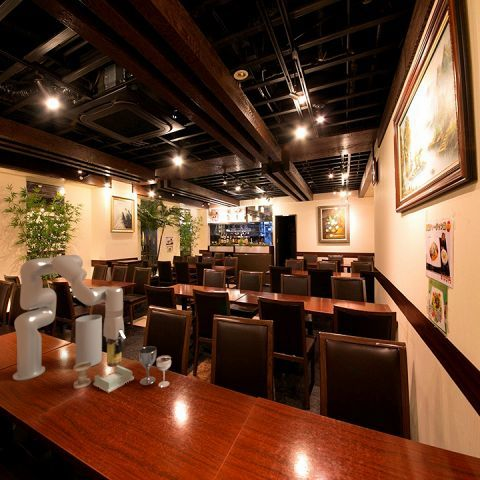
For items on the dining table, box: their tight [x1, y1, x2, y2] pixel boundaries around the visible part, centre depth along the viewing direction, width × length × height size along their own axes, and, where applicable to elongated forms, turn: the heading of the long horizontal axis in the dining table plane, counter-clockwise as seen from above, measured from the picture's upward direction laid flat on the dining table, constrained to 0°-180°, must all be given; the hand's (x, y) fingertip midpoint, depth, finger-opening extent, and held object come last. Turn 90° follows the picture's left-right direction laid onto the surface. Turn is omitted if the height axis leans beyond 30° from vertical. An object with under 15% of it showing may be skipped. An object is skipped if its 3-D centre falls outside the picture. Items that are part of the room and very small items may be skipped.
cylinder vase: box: [75, 314, 103, 368], centre depth 140 cm, size 12×12×25 cm
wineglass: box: [155, 355, 172, 388], centre depth 119 cm, size 7×7×12 cm
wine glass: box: [138, 345, 157, 386], centre depth 122 cm, size 8×8×15 cm
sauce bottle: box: [106, 336, 123, 368], centre depth 121 cm, size 7×6×20 cm
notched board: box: [93, 364, 135, 394], centre depth 121 cm, size 12×13×4 cm
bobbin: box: [73, 362, 92, 389], centre depth 119 cm, size 7×7×9 cm
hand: (114, 350), depth 121 cm, fingers closed on sauce bottle, 6 cm apart
